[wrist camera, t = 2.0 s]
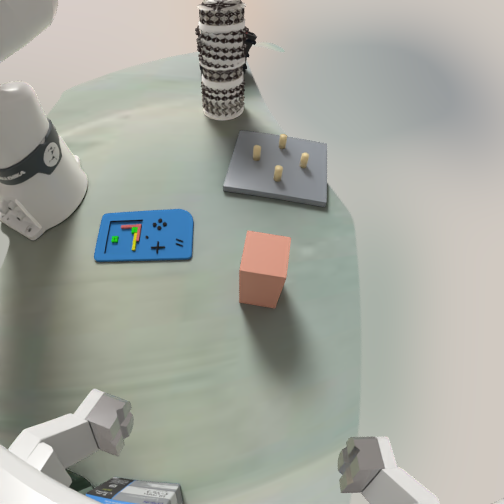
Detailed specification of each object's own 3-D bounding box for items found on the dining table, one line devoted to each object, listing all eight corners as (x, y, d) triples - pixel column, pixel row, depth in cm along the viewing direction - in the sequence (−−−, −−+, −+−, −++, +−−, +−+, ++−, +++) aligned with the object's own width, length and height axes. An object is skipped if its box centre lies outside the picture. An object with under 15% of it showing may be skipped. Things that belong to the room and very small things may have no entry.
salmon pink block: (239, 302, 38) (239, 270, 29) (245, 270, 40) (247, 230, 32) (275, 308, 38) (286, 277, 29) (279, 275, 40) (291, 237, 31)
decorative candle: (214, 127, 54) (208, 6, 32) (194, 105, 57) (184, -2, 35) (254, 113, 57) (261, -1, 34) (231, 93, 60) (232, -9, 38)
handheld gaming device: (191, 256, 40) (92, 259, 39) (192, 260, 41) (95, 263, 40) (193, 206, 44) (102, 212, 43) (194, 211, 45) (104, 216, 44)
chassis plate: (223, 190, 47) (222, 175, 43) (240, 134, 53) (240, 119, 50) (324, 207, 46) (330, 192, 43) (325, 148, 52) (329, 133, 49)
